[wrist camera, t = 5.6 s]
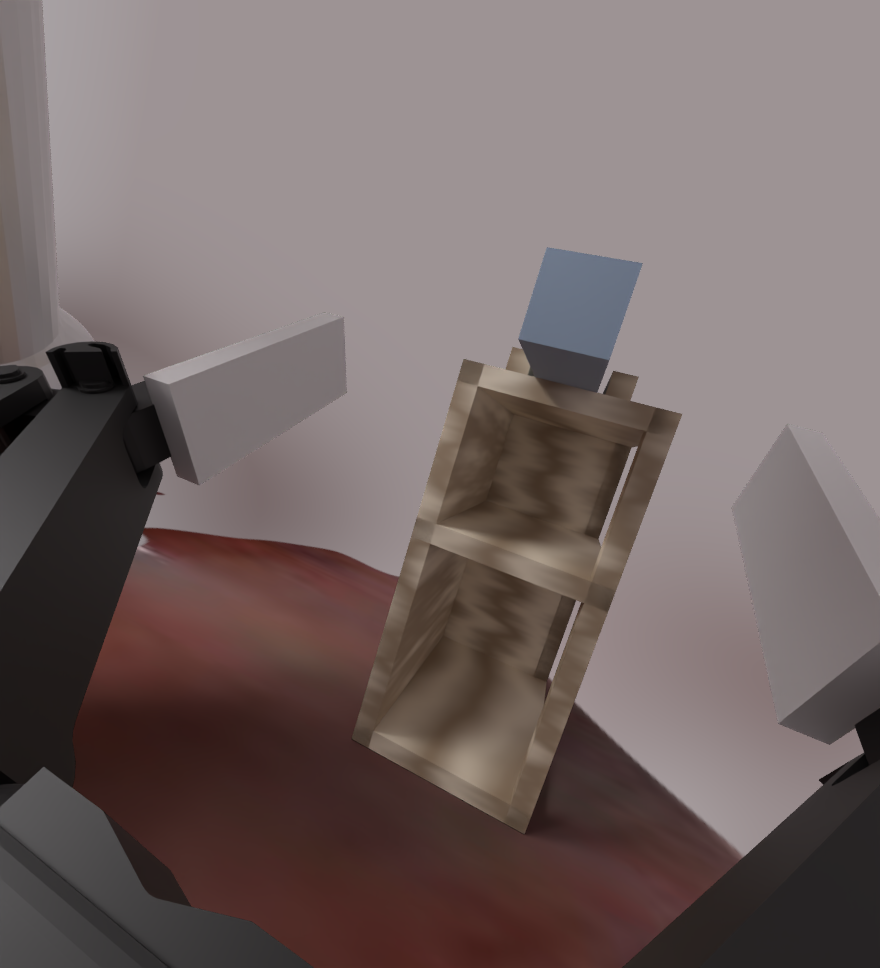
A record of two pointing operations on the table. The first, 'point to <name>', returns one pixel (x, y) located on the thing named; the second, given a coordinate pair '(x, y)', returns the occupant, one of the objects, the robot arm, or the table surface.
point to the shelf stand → (509, 580)
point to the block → (576, 316)
